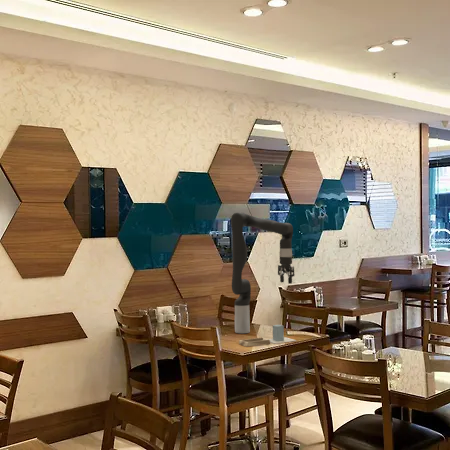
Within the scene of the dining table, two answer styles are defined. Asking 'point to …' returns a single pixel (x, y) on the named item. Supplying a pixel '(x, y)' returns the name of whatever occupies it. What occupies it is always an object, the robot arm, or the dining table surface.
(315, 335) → the dining table surface
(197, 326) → the dining table surface
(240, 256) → the robot arm
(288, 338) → the mat
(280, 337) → the slate block
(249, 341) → the shelf lane
